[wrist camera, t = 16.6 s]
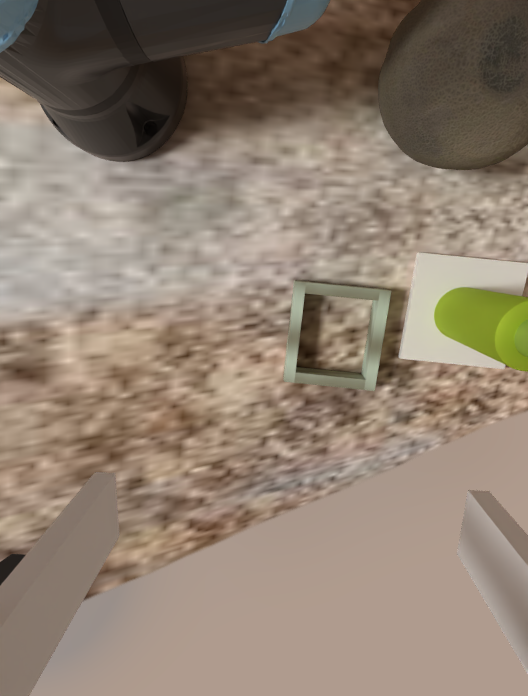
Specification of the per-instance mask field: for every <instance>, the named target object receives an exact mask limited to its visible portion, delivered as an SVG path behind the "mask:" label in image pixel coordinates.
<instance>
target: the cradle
mask: <svg viewBox="0 0 528 696" xmlns="http://www.w3.org/2000/svg"><path fill="white" fill-rule="evenodd" d="M305 293H306V294H316V295H326V296H336V297H346V298H356V299H366V300H373V303H372V309H371V315H370V322H369V328H368V334H367V341H366V347H365V353H364V360H363V366H362V372H361V373H351V372H342V371H332V370H322V369H313V368H303V367H296V364H297V355H298V347H299V338H300V330H301V322H302V313H303V305H304V296H305ZM390 296H391V290H387V289H381V288H371V287H361V286H351V285H341V284H331V283H321V282H311V281H301V280H294V287H293V296H292V305H291V314H290V323H289V332H288V341H287V350H286V359H285V368H284V381H285V382H294V383H304V384H313V385H323V386H332V387H342V388H351V389H361V390H371V391H375V386H376V380H377V374H378V368H379V362H380V356H381V350H382V344H383V338H384V332H385V326H386V320H387V314H388V308H389V302H390Z"/></svg>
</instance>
